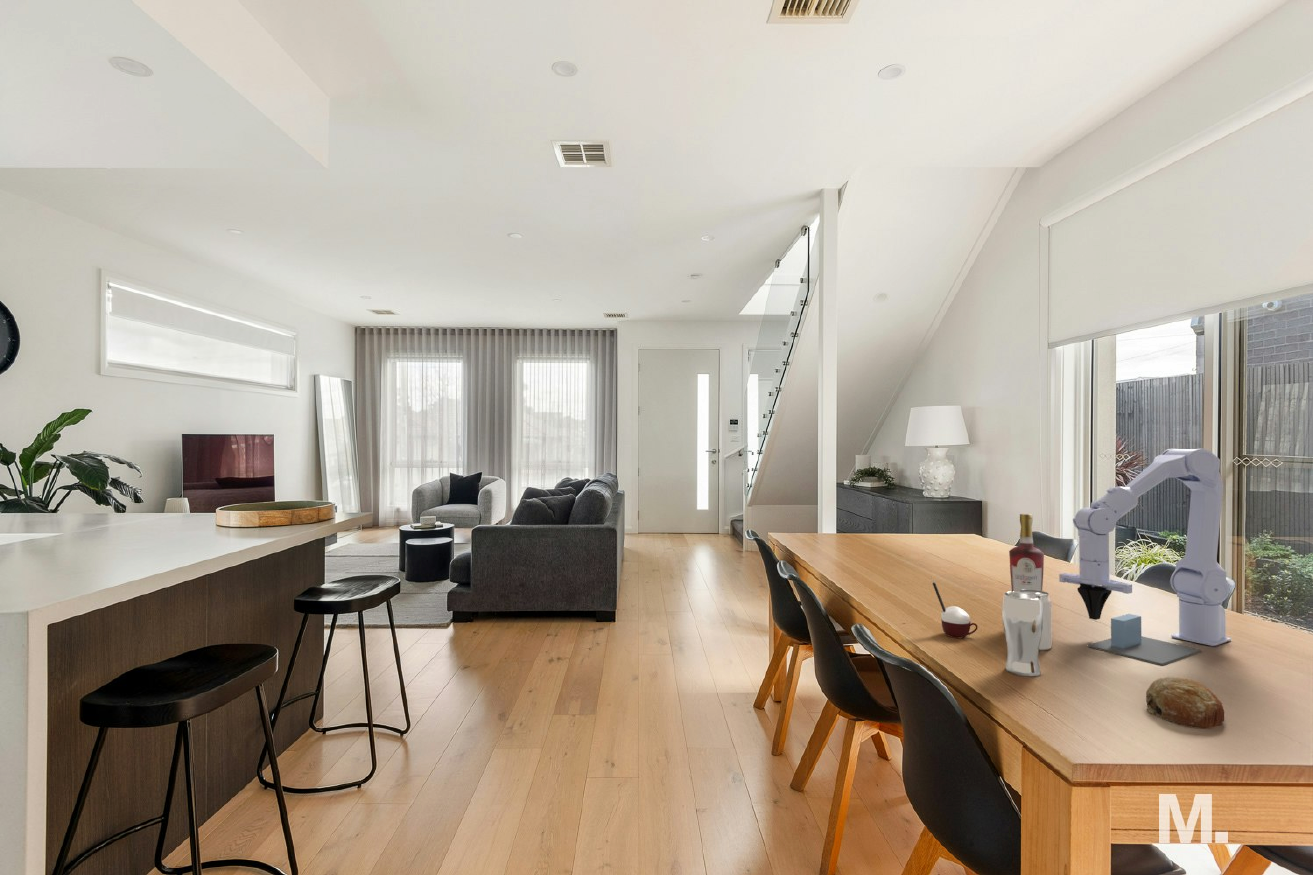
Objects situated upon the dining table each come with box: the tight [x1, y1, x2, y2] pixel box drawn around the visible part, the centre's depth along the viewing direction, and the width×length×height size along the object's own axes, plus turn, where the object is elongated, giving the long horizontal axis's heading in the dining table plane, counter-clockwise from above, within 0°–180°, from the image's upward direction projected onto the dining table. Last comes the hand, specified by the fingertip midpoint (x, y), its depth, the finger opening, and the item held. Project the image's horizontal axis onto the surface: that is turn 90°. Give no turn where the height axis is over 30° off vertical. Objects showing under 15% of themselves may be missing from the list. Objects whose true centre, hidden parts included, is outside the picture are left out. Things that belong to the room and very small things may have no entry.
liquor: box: [1008, 513, 1045, 592], centre depth 154 cm, size 7×7×28 cm
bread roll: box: [1145, 676, 1225, 730], centre depth 105 cm, size 10×10×8 cm
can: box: [1020, 590, 1052, 651], centre depth 141 cm, size 6×6×12 cm
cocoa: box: [932, 580, 978, 639], centre depth 149 cm, size 10×6×12 cm, turn 41°
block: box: [1110, 613, 1142, 649], centre depth 141 cm, size 8×3×6 cm, turn 120°
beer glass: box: [1002, 591, 1043, 678], centre depth 125 cm, size 7×7×15 cm
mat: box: [1087, 635, 1203, 666], centre depth 139 cm, size 18×14×1 cm
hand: (1094, 618), depth 147 cm, fingers closed
